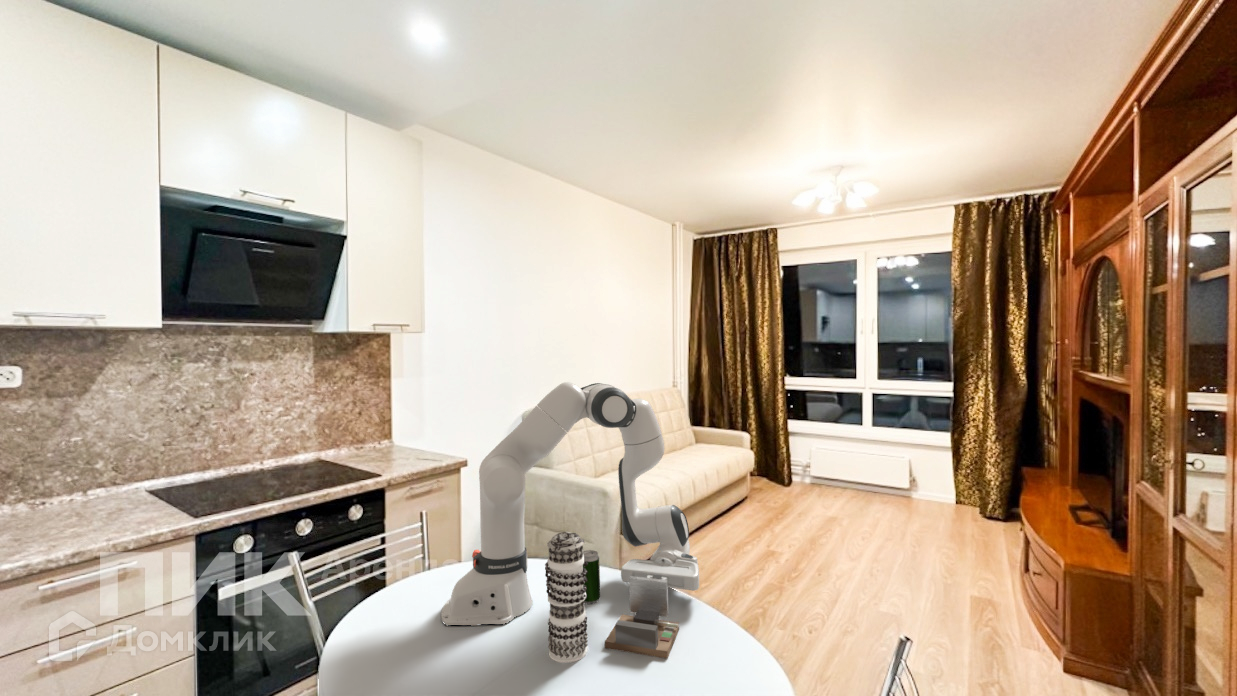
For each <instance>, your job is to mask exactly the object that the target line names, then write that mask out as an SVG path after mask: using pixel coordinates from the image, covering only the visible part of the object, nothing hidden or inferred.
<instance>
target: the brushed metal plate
mask: <svg viewBox="0 0 1237 696" xmlns="http://www.w3.org/2000/svg"><path fill="white" fill-rule="evenodd" d="M668 590H669V588H668V580H661V579H652V578H644V577H635V576H630V578H629V612H630V613H635V614H634V615H633V616H634V618H633V622H635V623H642V624H649V625H656V626H657V625H661V626H667V627H674V628H678V627H679V628H680V623H679V624H675V623H668V622H661V621H659V620H660V617H663V618H668V617H669V591H668Z"/></svg>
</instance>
